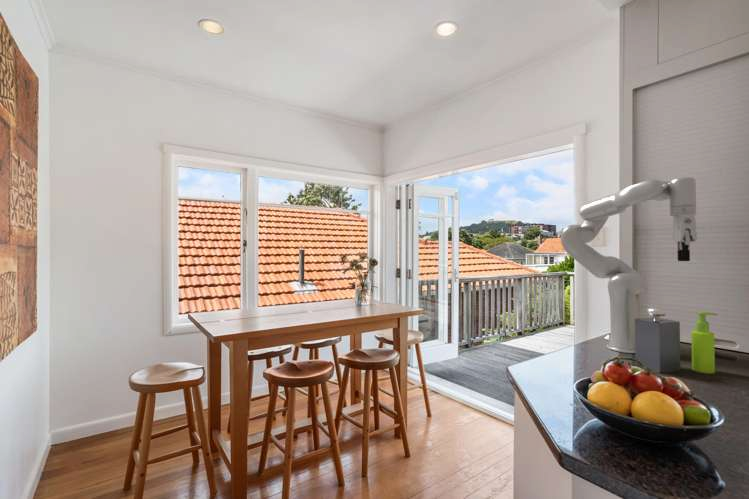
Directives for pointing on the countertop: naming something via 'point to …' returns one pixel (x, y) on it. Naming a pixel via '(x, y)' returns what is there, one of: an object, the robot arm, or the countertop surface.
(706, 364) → the soap dispenser
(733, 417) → the countertop surface
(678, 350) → the block
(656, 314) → the plunger
